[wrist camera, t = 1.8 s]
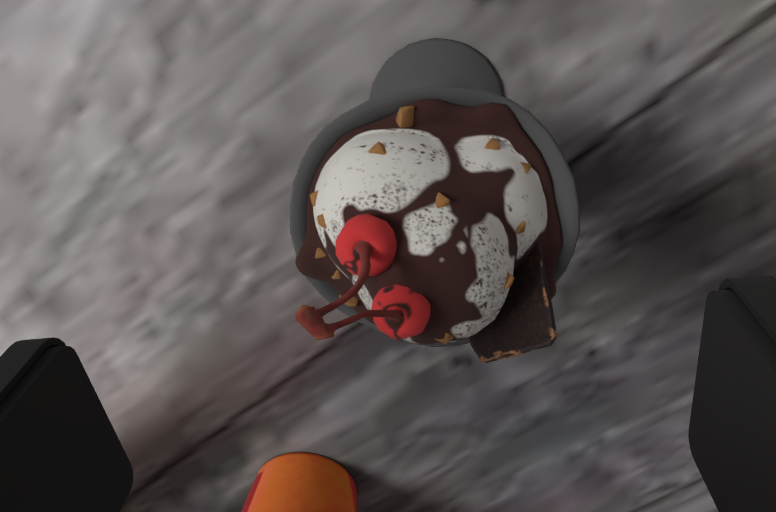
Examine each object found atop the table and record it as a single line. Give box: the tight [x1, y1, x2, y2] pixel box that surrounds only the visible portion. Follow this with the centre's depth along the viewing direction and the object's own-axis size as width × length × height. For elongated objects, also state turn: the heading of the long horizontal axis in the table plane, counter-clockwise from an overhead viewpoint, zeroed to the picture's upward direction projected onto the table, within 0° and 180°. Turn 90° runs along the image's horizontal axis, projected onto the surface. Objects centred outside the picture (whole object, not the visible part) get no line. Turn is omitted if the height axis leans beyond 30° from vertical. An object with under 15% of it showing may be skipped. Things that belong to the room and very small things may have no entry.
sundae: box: [290, 38, 580, 363], centre depth 17 cm, size 7×7×15 cm
